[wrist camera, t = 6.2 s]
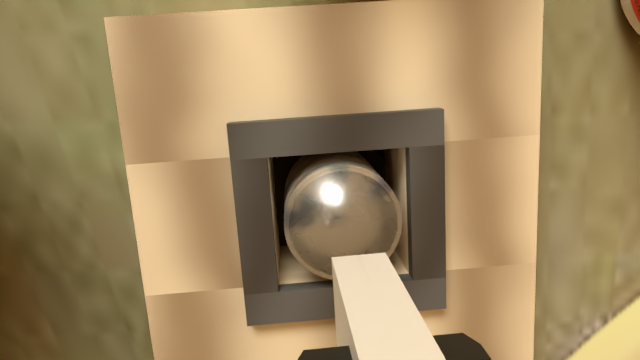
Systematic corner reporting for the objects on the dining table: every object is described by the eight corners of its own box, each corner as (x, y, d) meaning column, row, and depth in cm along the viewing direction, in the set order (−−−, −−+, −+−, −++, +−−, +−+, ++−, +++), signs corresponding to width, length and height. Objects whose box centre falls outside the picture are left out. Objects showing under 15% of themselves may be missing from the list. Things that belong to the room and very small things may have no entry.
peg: (288, 241, 28) (288, 285, 22) (280, 149, 26) (279, 170, 21) (380, 234, 28) (404, 275, 22) (377, 142, 27) (400, 161, 21)
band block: (183, 353, 29) (158, 424, 24) (140, 27, 26) (96, 15, 20) (491, 325, 30) (540, 387, 24) (494, 6, 26) (553, -12, 21)
